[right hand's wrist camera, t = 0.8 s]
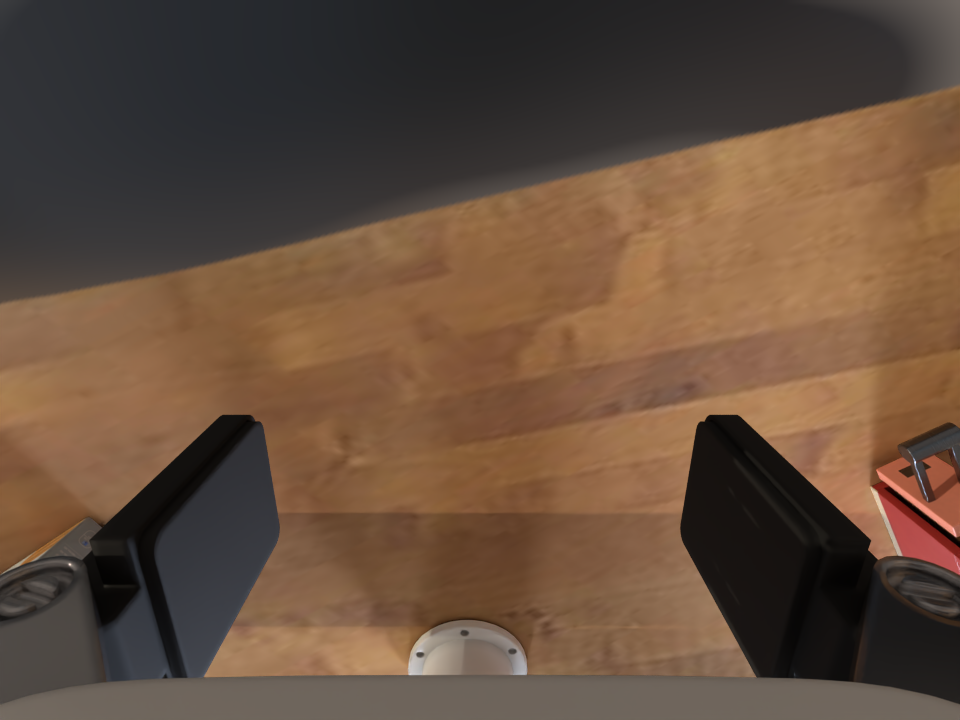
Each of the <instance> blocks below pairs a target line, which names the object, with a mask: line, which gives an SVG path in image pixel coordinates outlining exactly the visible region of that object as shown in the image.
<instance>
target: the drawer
mask: <svg viewBox="0 0 960 720" xmlns="http://www.w3.org/2000/svg"><path fill="white" fill-rule="evenodd" d="M947 449H948V452H949V455H950V458H951V461H952V464H953V467H952V466H950V465H949V464H947V463H946V462H944V461H943V460H941V459H939V458H938V457H936V456H935V455H936V454H938V453H941V452H943V451H945V450H947ZM898 450H899V452H900V454H901V455H902V456H903V457H902V458H900V459H897V460H895V461H893V462H891V463H888V464H886V465H884V466H882V467H880V468H877V469H876V470H877V473H878V475H879V478H880V479H881V480H882V481H884V482H885V483H886V484H888V485H889V486H890V487H891V488H893V489H894V491H895V494H896V496H897V499H898V500H900V501H901V502H902V503H903V504H905V505H906V506H907V507H909V508H910V509H911V510H912V511H914V512H915V513H916V514H917V515H919V516H920V517H921V518H922V519H924V520H925V521H926V522H928V523H929V524H930V525H931V526H933V527H934V528H935V529H936V530H938V531H939V532H940V533H942V534H943V535H944V536H945V537H947V538H948V539H949V540H950V541H952V542H953V543H954V544H956V545H957V546H958V547H959V548H960V428H958V427H957V426H956V425H954V424H953V423H945V424H943V425H941V426H939V427H936V428H934V429H932V430H930V431H928V432H925V433H923V434H921V435H919V436H917V437H915V438H912V439H910V440H908V441H906V442H904V443H901V444H899V445H898Z"/></svg>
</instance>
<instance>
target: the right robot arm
mask: <svg viewBox="0 0 960 720" xmlns="http://www.w3.org/2000/svg"><path fill="white" fill-rule="evenodd" d="M279 530H280V526H279V519H278V513H277V507H276V501H275V495H274V489H273V483H272V477H271V471H270V464H269V458H268V452H267V446H266V440H265V434H264V429H263V425H262V423H261V422H255V420H254V418H253V417H252V416H251V415H222V416H220V417H219V418H218V419H217V420H216V421H215V422H214V423H213V424H211V425H210V426H209V427H208V428H207V429H206V430H205V431H204V432H203V433H202V434H201V435H200V436H199V437H198V438H197V439H196V440H195V441H193V442H192V443H191V444H190V445H189V446H188V447H187V448H186V449H185V450H184V451H183V452H182V453H181V454H180V455H179V456H178V457H177V458H175V459H174V460H173V461H172V462H171V463H170V464H169V465H168V466H167V467H166V468H165V469H164V470H163V471H162V472H161V473H160V474H159V475H157V476H156V477H155V478H154V479H153V480H152V481H151V482H150V483H149V484H148V485H147V486H146V487H145V488H144V489H143V490H142V491H141V492H140V493H138V494H137V495H136V496H135V497H134V498H133V499H132V500H131V501H130V502H129V503H128V504H127V505H126V506H125V507H124V508H123V509H122V510H120V511H119V512H118V513H117V514H116V515H115V516H114V517H113V518H112V519H111V520H110V521H109V522H108V523H107V524H106V525H105V526H104V527H102V528H101V529H100V530H99V531H98V532H97V533H96V534H95V535H94V536H93V537H92V538H91V539H90V540H89V542H90V545H91V548H92V551H91V552H90V553H89V554H88V555H86V556H85V557H84V558H83V559H82V560H80V559H78V558H76V557H73V556H55V557H48V558H42V559H39V560H35V561H32V562H29V563H25V564H23V565H21V566H18V567H16V568H14V569H11V570H9V571H7V572H5V573H3V574H1V575H0V720H960V575H959V574H957V573H955V572H953V571H951V570H949V569H946V568H944V567H942V566H939V565H937V564H935V563H931V562H928V561H925V560H921V559H918V558H912V557H905V556H887V557H884V558H882V559H880V560H878V559H877V558H876V557H875V556H874V555H872V554H871V553H870V552H869V551H868V548H869V545H870V542H871V540H870V539H869V538H868V537H867V536H866V535H865V534H864V533H863V532H862V531H861V530H860V529H859V528H858V527H856V526H855V525H854V524H853V523H852V522H851V521H850V520H849V519H848V518H847V517H846V516H845V515H844V514H843V513H842V512H841V511H840V510H838V509H837V508H836V507H835V506H834V505H833V504H832V503H831V502H830V501H829V500H828V499H827V498H826V497H825V496H824V495H823V494H822V493H820V492H819V491H818V490H817V489H816V488H815V487H814V486H813V485H812V484H811V483H810V482H809V481H808V480H807V479H806V478H805V477H804V476H803V475H801V474H800V473H799V472H798V471H797V470H796V469H795V468H794V467H793V466H792V465H791V464H790V463H789V462H788V461H787V460H786V459H785V458H783V457H782V456H781V455H780V454H779V453H778V452H777V451H776V450H775V449H774V448H773V447H772V446H771V445H770V444H769V443H768V442H767V441H765V440H764V439H763V438H762V437H761V436H760V435H759V434H758V433H757V432H756V431H755V430H754V429H753V428H752V427H751V426H750V425H749V424H747V423H746V422H745V421H744V420H743V419H742V418H741V417H740V416H738V415H709V416H708V417H707V418H706V420H705V422H699V423H698V425H697V429H696V434H695V440H694V446H693V452H692V458H691V464H690V471H689V477H688V483H687V489H686V495H685V501H684V507H683V513H682V519H681V526H680V530H681V537H682V541H683V543H684V545H685V547H686V549H687V551H688V553H689V554H690V556H691V558H692V560H693V562H694V564H695V565H696V567H697V569H698V571H699V573H700V575H701V576H702V578H703V580H704V582H705V584H706V586H707V587H708V589H709V591H710V593H711V595H712V597H713V598H714V600H715V602H716V604H717V606H718V607H719V609H720V611H721V613H722V615H723V617H724V618H725V620H726V622H727V624H728V626H729V628H730V629H731V631H732V633H733V635H734V637H735V639H736V640H737V642H738V644H739V646H740V648H741V650H742V651H743V653H744V655H745V657H746V659H747V661H748V662H749V664H750V666H751V668H752V670H753V672H754V673H755V675H756V677H757V678H751V677H702V676H634V675H527V670H528V669H527V658H526V655H525V651H524V649H523V647H522V646H521V644H520V642H519V641H518V640H517V639H516V638H515V637H514V636H513V635H512V634H510V633H509V632H508V631H506V630H505V629H503V628H501V627H499V626H497V625H494V624H491V623H487V622H484V621H477V620H458V621H451V622H448V623H444V624H441V625H438V626H436V627H434V628H432V629H430V630H429V631H428V632H426V633H425V634H424V635H422V636H421V637H420V638H419V640H418V641H417V642H416V643H415V645H414V647H413V648H412V650H411V654H410V658H409V665H408V673H409V675H326V676H258V677H209V678H203V677H204V675H205V673H206V672H207V670H208V668H209V666H210V664H211V662H212V661H213V659H214V657H215V655H216V653H217V651H218V650H219V648H220V646H221V644H222V642H223V640H224V639H225V637H226V635H227V633H228V631H229V629H230V628H231V626H232V624H233V622H234V620H235V618H236V617H237V615H238V613H239V611H240V609H241V607H242V606H243V604H244V602H245V600H246V598H247V597H248V595H249V593H250V591H251V589H252V587H253V586H254V584H255V582H256V580H257V578H258V576H259V575H260V573H261V571H262V569H263V567H264V565H265V564H266V562H267V560H268V558H269V556H270V554H271V553H272V551H273V549H274V547H275V545H276V543H277V541H278V537H279Z"/></svg>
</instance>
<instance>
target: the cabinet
mask: <svg viewBox="0 0 960 720" xmlns="http://www.w3.org/2000/svg"><path fill="white" fill-rule="evenodd" d="M870 488H871V490H872V493H873V495H874V497H875V500H876V502H877V505H878V507H879V510H880V512H881V515H882V517H883V520H884V522H885V525H886V527H887V529H888V532H889V534H890V537H891V539H892V542H893V544H894V547H895V549H896V552H897V554H898V556H905V557H912V558H918V559H921V560H925V561H928V562H931V563H935V564H937V565H939V566H942V567H944V568H946V569H949V570H951V571H953V572H955V573H957V574H959V575H960V548H959V547H958V546H957V545H956V544H954V543H953V542H952V541H950V540H949V539H948V538H947V537H945V536H944V535H943V534H942V533H940V532H939V531H938V530H936V529H935V528H934V527H933V526H931V525H930V524H929V523H928V522H926V521H925V520H924V519H922V518H921V517H920V516H919V515H917V514H916V513H915V512H914V511H912V510H911V509H910V508H909V507H907V506H906V505H905V504H903V503H902V502H901V501H900V500H898V499H897V496H896V494H895V491H894V489H893V488H891V487H890V486H889V485H888V484H886V483H885V482H884V481H883V482H880V483H878V484H876V485H874V486H870Z"/></svg>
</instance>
